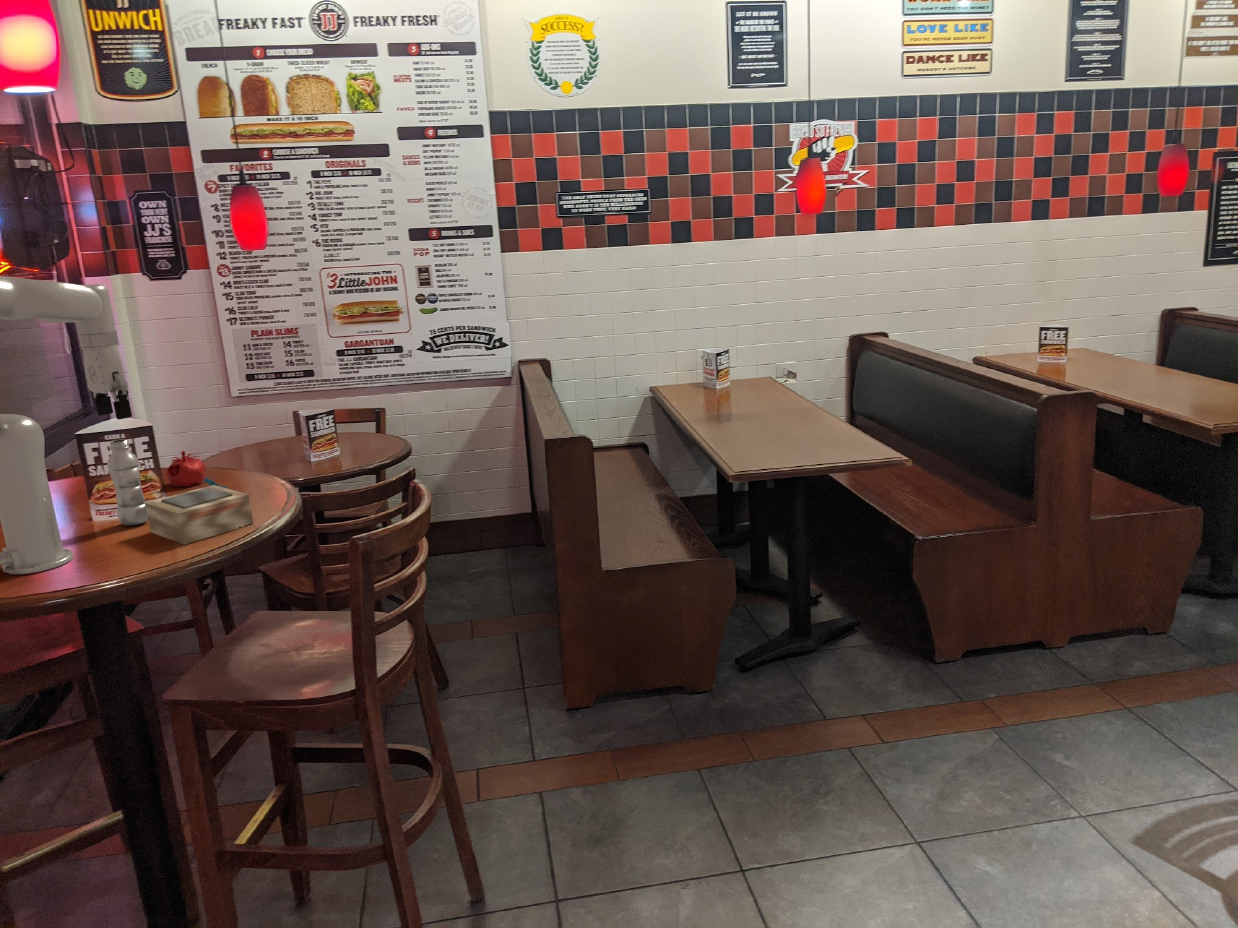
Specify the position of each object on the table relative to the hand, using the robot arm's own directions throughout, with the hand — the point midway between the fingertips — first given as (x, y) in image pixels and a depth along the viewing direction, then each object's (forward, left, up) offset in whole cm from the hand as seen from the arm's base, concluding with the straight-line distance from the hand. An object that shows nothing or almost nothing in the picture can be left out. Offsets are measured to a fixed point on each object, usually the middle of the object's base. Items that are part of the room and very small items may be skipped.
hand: (115, 416), depth 208 cm
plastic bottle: (0, 0, -26) cm, 26 cm away
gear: (+20, -4, -26) cm, 33 cm away
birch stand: (+7, -18, -26) cm, 32 cm away
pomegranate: (+25, +25, -26) cm, 44 cm away
